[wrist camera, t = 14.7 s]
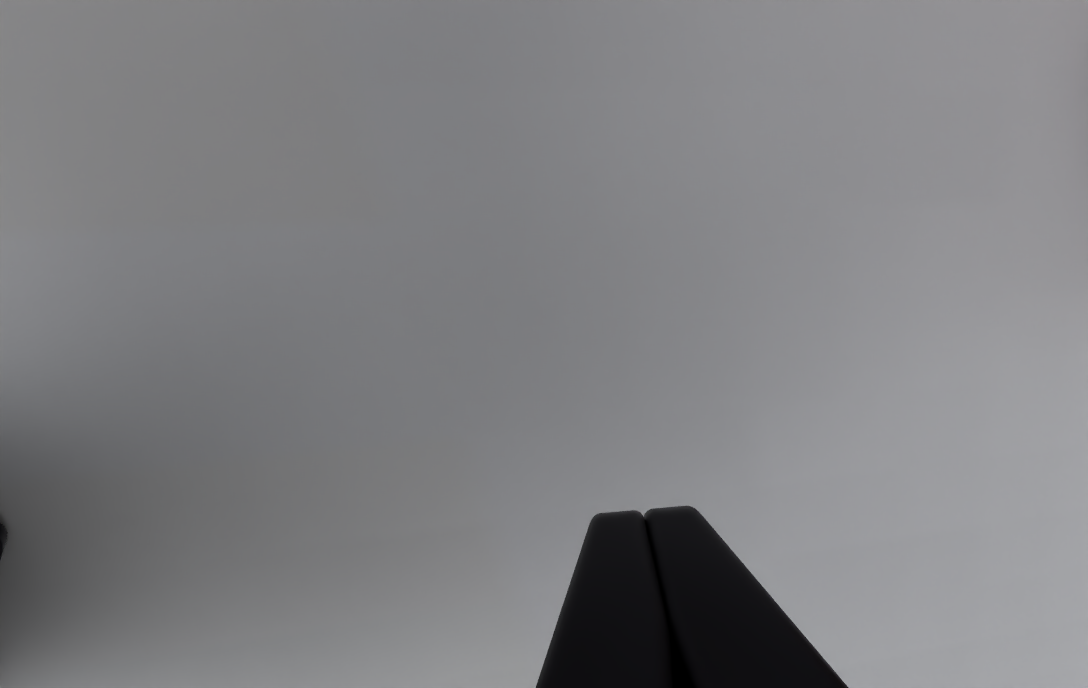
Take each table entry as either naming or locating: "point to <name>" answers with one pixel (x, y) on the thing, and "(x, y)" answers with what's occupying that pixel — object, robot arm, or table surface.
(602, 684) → the robot arm
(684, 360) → the table surface
